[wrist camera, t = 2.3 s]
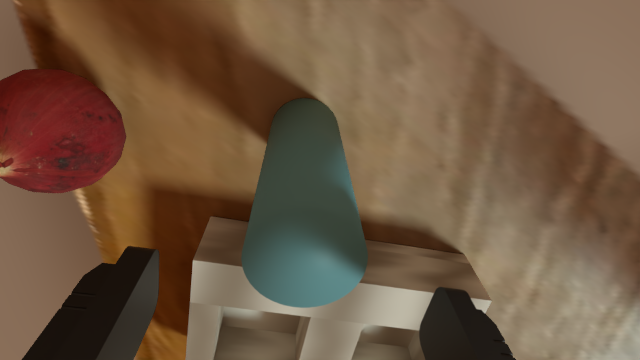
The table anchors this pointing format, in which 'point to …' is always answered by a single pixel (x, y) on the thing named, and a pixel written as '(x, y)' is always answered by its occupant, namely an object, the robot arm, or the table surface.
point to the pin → (304, 213)
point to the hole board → (323, 321)
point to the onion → (56, 131)
